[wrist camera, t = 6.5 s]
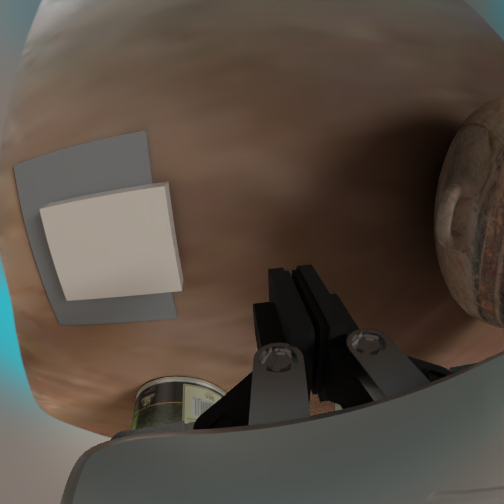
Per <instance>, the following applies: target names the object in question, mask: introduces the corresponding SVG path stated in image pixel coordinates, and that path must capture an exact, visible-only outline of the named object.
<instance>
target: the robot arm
mask: <svg viewBox="0 0 504 504" xmlns="http://www.w3.org/2000/svg"><path fill="white" fill-rule="evenodd" d="M268 280H269V302H265V303H256V304H253V314H254V326H255V335H256V342H257V348H258V351H257V352H256V353H255V356H254V359H253V371H252V372H251V373H250V374H249V375H248V376H247V377H245V378H244V379H243V380H242V381H241V382H240V383H238V384H237V385H236V386H235V387H234V388H233V389H231V390H230V391H229V392H228V393H227V394H226V395H224V396H223V397H222V398H221V399H220V400H218V401H217V402H216V403H215V404H213V405H212V406H211V407H210V408H209V409H207V410H206V411H205V412H204V413H202V414H201V415H200V416H199V417H198V418H197V419H196V421H195V422H191V423H187V424H185V422H184V421H180V422H175V423H169V424H164V425H158V426H153V427H146V428H140V429H133V430H126V431H122V432H119V433H117V434H116V435H114V436H113V437H112V439H111V440H110V441H106V442H104V443H101V444H98V445H96V446H94V447H92V448H91V449H89V450H87V451H86V452H85V453H84V454H83V455H82V456H81V457H80V458H79V459H78V460H77V462H76V463H75V465H74V467H73V469H72V471H71V473H70V476H69V478H68V481H67V483H66V486H65V489H64V493H63V496H62V500H61V504H504V351H503V352H501V353H499V354H496V355H494V356H491V357H489V358H487V359H485V360H483V361H481V362H478V363H473V364H468V365H462V366H456V367H450V368H449V370H447V369H446V368H444V367H441V366H438V365H435V364H432V363H428V362H425V361H422V360H418V359H415V358H412V357H409V356H406V355H405V354H404V353H403V352H402V351H401V350H400V349H399V348H398V347H397V346H396V345H395V344H394V343H393V342H392V341H391V340H390V339H389V337H388V336H386V335H385V334H384V333H382V332H380V331H378V330H374V329H359V328H358V327H357V325H356V324H355V322H354V320H353V319H352V317H351V316H350V314H349V313H348V311H347V309H346V308H345V306H344V305H343V303H342V302H341V300H340V299H339V297H338V296H337V295H336V294H330V293H329V292H328V290H327V289H326V287H325V285H324V284H323V282H322V281H321V279H320V277H319V276H318V274H317V273H316V271H315V269H314V268H313V266H312V265H303V266H297V268H296V270H292V277H291V275H290V273H289V271H284V269H283V268H274V269H268ZM311 391H312V393H313V394H318V396H319V399H320V402H323V401H328V400H329V401H331V402H334V403H335V410H336V411H333V412H328V413H324V414H319V415H314V416H310V411H309V400H310V392H311Z"/></svg>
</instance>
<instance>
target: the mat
mask: <svg viewBox="0 0 504 504" xmlns="http://www.w3.org/2000/svg"><path fill="white" fill-rule="evenodd" d="M14 172H15V178H16V184H17V190H18V195H19V200H20V205H21V209H22V214H23V218H24V222H25V226H26V230H27V234H28V237H29V241H30V244H31V248H32V251H33V255H34V258H35V261H36V264H37V267H38V270H39V273H40V276H41V279H42V282H43V284H44V287H45V290H46V292H47V295H48V298H49V300H50V303H51V305H52V308H53V310H54V312H55V315H56V317H57V319H58V322H59V324H60V325H88V324H108V323H125V322H139V321H152V320H164V319H176V318H177V311H176V307H175V303H174V298H173V294H172V292H166V293H156V294H146V295H135V296H123V297H112V298H99V299H86V300H73V301H67V300H66V297H65V295H64V292H63V289H62V286H61V283H60V281H59V278H58V275H57V272H56V269H55V265H54V262H53V259H52V256H51V252H50V249H49V245H48V242H47V238H46V234H45V230H44V226H43V222H42V218H41V214H40V208H42V207H44V206H46V205H47V204H49V203H52V202H56V201H61V200H66V199H70V198H75V197H80V196H85V195H90V194H95V193H100V192H106V191H111V190H117V189H123V188H129V187H135V186H141V185H148V184H153V181H152V173H151V165H150V157H149V148H148V139H147V130H145V131H140V132H134V133H129V134H124V135H119V136H114V137H110V138H105V139H101V140H96V141H92V142H88V143H84V144H80V145H76V146H73V147H69V148H65V149H62V150H58V151H55V152H52V153H48V154H45V155H42V156H39V157H36V158H32V159H29V160H26V161H24V162H21V163H18V164H15V165H14Z"/></svg>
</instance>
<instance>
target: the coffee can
mask: <svg viewBox="0 0 504 504" xmlns="http://www.w3.org/2000/svg"><path fill="white" fill-rule="evenodd" d="M224 395H226V393H225V392H224V391H223V390H222V389H220V388H219V387H217V386H215V385H213V384H211V383H209V382H207V381H204V380H200V379H196V378H190V377H184V376H183V377H178V376H172V377H163V378H159V379H155V380H153V381H150V382H148V383H146V384H145V385H143V386H142V387H141V388H140V389H139V391H138V392H137V395H136V399H135V410H134V416H133V423H132V430H133V429H140V428H146V427H153V426H158V425H164V424H169V423H175V422H180V421H184V422H185V424H187V423H191V422H195V421H196V419H197V418H198V417H199V416H200V415H201V414H202V413H204V412H205V411H206V410H207V409H209V408H210V407H211V406H212V405H213V404H215V403H216V402H217V401H218V400H220V399H221V398H222V397H223V396H224Z"/></svg>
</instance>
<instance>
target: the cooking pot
mask: <svg viewBox="0 0 504 504" xmlns="http://www.w3.org/2000/svg"><path fill="white" fill-rule="evenodd" d="M434 238H435V247H436V255H437V258H438V262H439V266H440V270H441V273H442V276H443V278H444V280H445V282H446V285H447V287H448V289H449V291H450V293H451V295H452V297H453V298H454V299H455V301H456V302H457V303H458V304H459V305H460V306H461V308H462V309H463V310H464V311H466V312H467V313H468V314H469V315H471V316H473V317H475V318H477V319H479V320H481V321H483V322H485V323H488V324H490V325H493V326H496V327H500V328H504V97H500V98H497V99H494V100H491V101H489V102H487V103H485V104H484V105H482V106H481V107H480V108H478V109H477V110H476V111H474V112H473V113H472V114H471V115H470V116H469V117H468V118H467V119H466V121H465V122H464V123H463V124H462V125H461V127H460V128H459V130H458V132H457V133H456V135H455V137H454V139H453V140H452V142H451V144H450V147H449V149H448V152H447V154H446V157H445V159H444V162H443V166H442V170H441V173H440V176H439V181H438V187H437V192H436V198H435V209H434Z"/></svg>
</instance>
